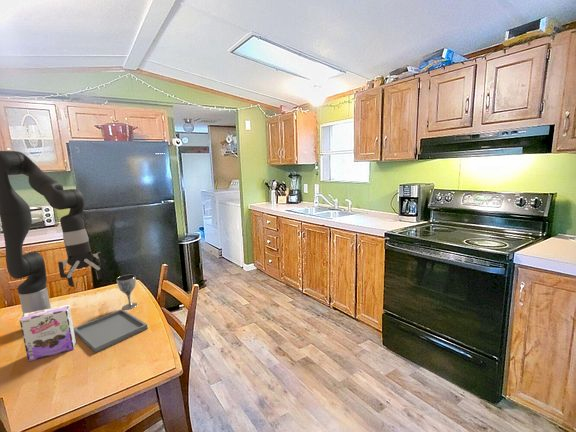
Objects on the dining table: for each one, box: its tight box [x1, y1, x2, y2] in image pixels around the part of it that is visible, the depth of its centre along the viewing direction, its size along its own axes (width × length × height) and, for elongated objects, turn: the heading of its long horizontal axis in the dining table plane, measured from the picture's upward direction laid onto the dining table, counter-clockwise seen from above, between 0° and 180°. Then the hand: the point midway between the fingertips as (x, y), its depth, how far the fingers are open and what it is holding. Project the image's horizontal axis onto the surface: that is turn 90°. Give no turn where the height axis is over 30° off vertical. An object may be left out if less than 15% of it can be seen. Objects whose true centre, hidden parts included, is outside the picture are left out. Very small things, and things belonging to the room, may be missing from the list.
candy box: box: [19, 304, 77, 362], centre depth 110 cm, size 14×6×16 cm, turn 117°
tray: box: [73, 308, 148, 354], centre depth 124 cm, size 24×20×2 cm
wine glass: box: [116, 273, 138, 311], centre depth 144 cm, size 8×8×15 cm
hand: (86, 282), depth 114 cm, fingers open, 8 cm apart
